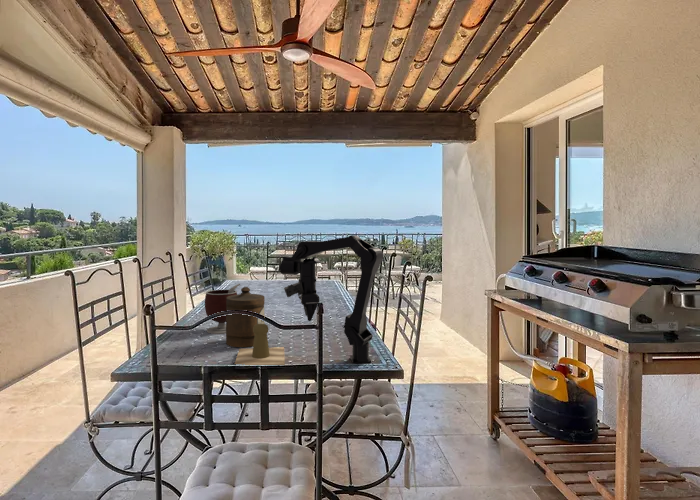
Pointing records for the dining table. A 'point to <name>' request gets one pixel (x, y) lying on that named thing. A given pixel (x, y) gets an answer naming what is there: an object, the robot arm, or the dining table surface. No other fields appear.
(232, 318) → the wooden container
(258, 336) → the cork
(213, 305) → the mate gourd
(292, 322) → the dining table surface
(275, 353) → the serving board
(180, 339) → the dining table surface
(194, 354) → the dining table surface
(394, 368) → the dining table surface
